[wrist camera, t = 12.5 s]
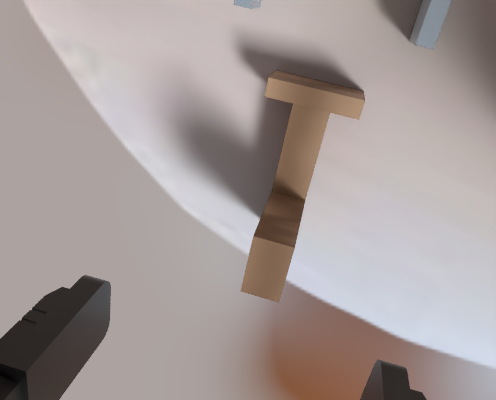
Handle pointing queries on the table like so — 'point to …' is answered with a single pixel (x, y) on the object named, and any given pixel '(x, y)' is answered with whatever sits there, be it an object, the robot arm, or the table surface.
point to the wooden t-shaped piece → (293, 175)
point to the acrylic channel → (424, 27)
